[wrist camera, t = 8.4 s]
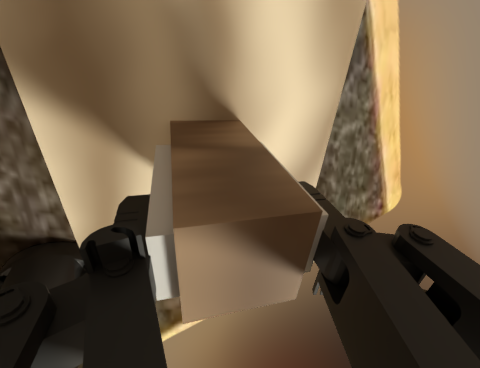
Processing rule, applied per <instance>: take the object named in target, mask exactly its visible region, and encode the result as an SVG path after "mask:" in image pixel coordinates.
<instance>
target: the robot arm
mask: <svg viewBox="0 0 480 368" xmlns="http://www.w3.org/2000/svg"><path fill="white" fill-rule="evenodd" d="M260 143H261V144H262V145H263V146H264V147H265V145H264V144H263V143H262V142H260ZM265 148H266V147H265ZM266 149H267V148H266ZM267 150H268V149H267ZM268 151H269V150H268ZM269 153H270V154H271V155H272V156H273V157H274V158H275V159H276V160H277V161H278V159H277V158H276V157H275V156H274V155H273V154H272V153H271V152H270V151H269ZM278 162H279V161H278ZM279 164H280V165H281V166H282V167H283V168H284V169H285V170H286V171H287V172H288V173H289V175H290V176H291V177H292V178H293V179H294V180H295V181H296V182H297V183H298V184H299V185H300V187H301V188H302V189H303V190H304V191H305V192H306V193H307V194H308V195H309V196H310V198H311V199H312V200H313V201H314V202H315V203H316V204H317V205H318V206H319V207H320V208H321V210H322V211H323V212H322V215H321V219H320V222H319V225H318V228H317V232H316V235H315V238H314V241H313V245H312V248H311V251H310V254H309V258H308V261H307V264H306V267H305V271H304V273H305V272H310V270H311V267H312V264H313V261H315V263H316V264H317V266H318V267H319V272H318V275H317V277H316V280H315V283H314V286H313V295H316V293H317V291H318V288H319V285H320V288H321V291H320V294H321V295H324V298H325V300H326V303H327V305H328V308H329V311H330V313H331V316H332V318H333V321H334V323H335V326H336V328H337V331H338V334H339V336H340V339H341V341H342V344H343V346H344V349H345V351H346V354H347V356H348V359H349V361H350V364H351V366H352V368H480V265H479V264H478V263H476V262H475V261H473V260H472V259H470V258H469V257H467V256H466V255H465V254H463V253H462V252H460V251H459V250H458V249H456V248H455V247H453V246H452V245H450V244H449V243H447V242H446V241H445V240H443V239H442V238H440V237H439V236H437V235H436V234H434V233H433V232H431V231H429V230H427V229H425V228H423V227H421V226H418V225H413V224H402V225H400V226H399V227H398V229H397V231H396V233H395V235H393V234H385V233H376V232H375V230H373V229H372V228H371V227H370V226H369V225H367V224H366V223H364V222H362V221H360V220H357V219H353V218H345V217H344V216H343V215H342V214H341V213H340V212H339V211H338V210H337V209H336V208H335V207H334V206H333V205H332V204H331V203H330V202H329V201H328V200H326V198H325V197H324V196H323V195H322V194H320V192H319V191H318V190H317V189H316V188H315V187H314V186H312V185H310V184H308V183H307V182H305V181H300V182H298V181H297V180H296V179H295V178H294V177H293V176H292V175H291V174H290V172H289V171H288V170H287V169H286V168H285V167H284V166H283V165H282V164H281V163H280V162H279ZM426 275H427V276H428V277H430V278H431V279H432V280H433V281H434V283H433V284H432V286H431V287H430V288H429V290H428V291H427V290H423V289H422V288H421V287H420V286H419V284H420V283H421V281H422V280H423V278H424V277H425V276H426ZM179 296H180V290H179V281H178V271H177V261H176V252H175V242H174V232H173V206H172V170H171V145H156V148H155V157H154V166H153V175H152V183H151V192H150V194H147V195H135V196H127V197H126V198H125V199H124V200H123V201H122V202H121V203H120V204H119V206H118V209H117V213H116V216H115V219H114V223H113V225H109V226H106V227H103V228H100V229H98V230H96V231H95V232H93V233H91V234H90V235H89V236H88V237H87V238H86V239H85V240H84V241H83V242H82V244H81V246H80V248H79V246H78V243H70V242H54V243H45V244H40V245H36V246H32V247H29V248H27V249H24V250H22V251H20V252H18V253H17V254H15V255H14V256H13V257H11V258H10V259H9V260H8V261H7V262H6V264H5V265H4V267H3V268H2V269H1V271H0V368H167V364H166V359H165V354H164V349H163V344H162V338H161V333H160V328H159V323H158V318H157V312H156V307H155V304H156V297H157V301H158V300H163V299H168V298H174V297H179Z"/></svg>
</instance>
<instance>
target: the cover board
mask: <svg viewBox="0 0 480 368" xmlns="http://www.w3.org/2000/svg"><path fill="white" fill-rule="evenodd" d="M366 1H367V0H0V47H1V49H2V52H3V54H4V57H5V59H6V62H7V65H8V67H9V70H10V72H11V75H12V77H13V80H14V82H15V85H16V88H17V90H18V93H19V95H20V98H21V100H22V103H23V105H24V108H25V111H26V113H27V116H28V118H29V121H30V123H31V126H32V128H33V131H34V134H35V136H36V139H37V141H38V144H39V146H40V149H41V151H42V154H43V157H44V159H45V162H46V164H47V167H48V169H49V172H50V174H51V177H52V180H53V182H54V185H55V187H56V190H57V192H58V195H59V197H60V200H61V203H62V205H63V208H64V210H65V213H66V215H67V218H68V220H69V223H70V225H71V228H72V231H73V233H74V236H75V238H76V241H77V243H78V246H79V248H80V246H81V244H82V242H83V241H84V240H85V239H86V238H87V237H88V236H89V235H90V234H91V233H93V232H95V231H96V230H98V229H100V228H103V227H106V226H109V225H113V223H114V219H115V216H116V213H117V209H118V206H119V204H120V203H121V202H122V201H123V200H124V199H125V198H126V197H127V196H135V195H147V194H150V192H151V183H152V175H153V166H154V157H155V148H156V145H171V170H172V206H173V232H174V242H175V252H176V261H177V271H178V281H179V290H180V300H181V310H182V320H183V324H185V323H189V322H194V321H198V320H203V319H207V318H212V317H217V316H221V315H226V314H230V313H235V312H239V311H244V310H248V309H253V308H258V307H262V306H267V305H271V304H275V303H280V302H285V301H289V300H293V299H296V297H297V293H298V290H299V287H300V284H301V280H302V277H303V274H304V271H305V267H306V264H307V261H308V258H309V254H310V251H311V248H312V245H313V241H314V238H315V235H316V232H317V228H318V225H319V222H320V219H321V215H322V212H323V211H322V210H321V208H320V207H319V206H318V205H317V204H316V203H315V202H314V201H313V200H312V199H311V198H310V196H309V195H308V194H307V193H306V192H305V191H304V190H303V189H302V188H301V187H300V185H299V184H298V183H297V182H296V181H295V180H294V179H293V178H292V177H291V176H290V175H289V173H288V172H287V171H286V170H285V169H284V168H283V167H282V166H281V165H280V164H279V162H280V163H281V164H282V165H283V166H284V167H285V168H286V169H287V170H288V171H289V172H290V174H291V175H292V176H293V177H294V178H295V179H296V180H297V181H298V182H300V181H305V182H307V183H308V184H310V185H312V186H314V187H315V188H316V185H317V181H318V178H319V174H320V170H321V167H322V163H323V159H324V155H325V152H326V148H327V144H328V141H329V137H330V133H331V130H332V126H333V122H334V119H335V115H336V111H337V108H338V104H339V100H340V96H341V93H342V89H343V85H344V82H345V78H346V74H347V71H348V67H349V63H350V60H351V56H352V52H353V49H354V45H355V41H356V37H357V34H358V30H359V26H360V23H361V19H362V15H363V12H364V8H365V4H366ZM260 142H262V143H263V144H264V145H265V147H266V148H267V149H268V150H269V151H270V152H271V153H272V154H273V155H274V156H275V157H276V158H277V159H278V161H279V162H278V161H277V160H276V159H275V158H274V157H273V156H272V155H271V154H270V153H269V151H268V150H267V149H266V148H265V147H264V146H263V145H262V144H261V143H260Z"/></svg>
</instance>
